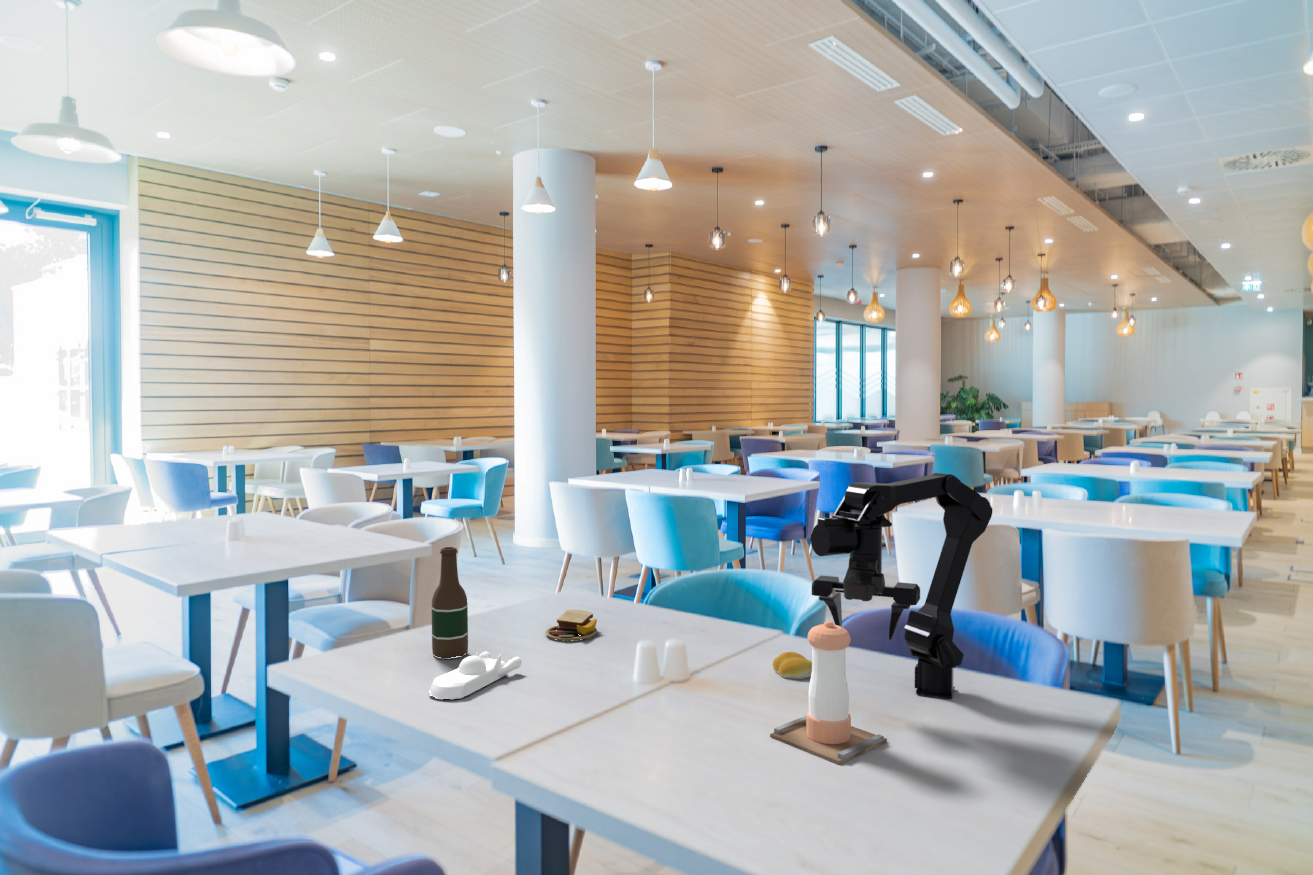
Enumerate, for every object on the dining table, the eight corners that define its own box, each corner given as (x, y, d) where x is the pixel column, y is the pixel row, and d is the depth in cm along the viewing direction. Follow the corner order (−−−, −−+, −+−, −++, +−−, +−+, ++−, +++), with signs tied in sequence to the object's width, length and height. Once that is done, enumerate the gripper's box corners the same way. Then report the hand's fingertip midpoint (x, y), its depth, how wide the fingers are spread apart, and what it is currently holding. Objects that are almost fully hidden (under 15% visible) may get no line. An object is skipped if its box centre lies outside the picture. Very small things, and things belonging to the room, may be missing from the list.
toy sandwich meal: (534, 639, 195) (534, 619, 195) (566, 625, 207) (566, 606, 207) (578, 646, 189) (578, 625, 189) (608, 631, 201) (608, 612, 201)
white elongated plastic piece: (415, 697, 157) (414, 667, 156) (482, 667, 174) (482, 640, 174) (457, 706, 152) (456, 675, 152) (522, 674, 170) (521, 646, 169)
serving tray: (818, 717, 145) (818, 710, 145) (887, 741, 134) (887, 734, 134) (770, 736, 137) (770, 729, 137) (838, 764, 126) (838, 756, 126)
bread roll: (786, 682, 164) (786, 662, 164) (767, 668, 173) (767, 650, 172) (823, 678, 166) (823, 658, 166) (802, 664, 175) (802, 646, 175)
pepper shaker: (852, 729, 138) (853, 617, 137) (848, 746, 131) (849, 629, 131) (809, 724, 140) (809, 614, 140) (803, 741, 134) (804, 625, 133)
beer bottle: (475, 652, 183) (474, 546, 182) (449, 662, 177) (448, 552, 176) (450, 647, 188) (449, 543, 187) (424, 656, 181) (423, 548, 180)
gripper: (803, 555, 146) (803, 641, 147) (912, 563, 138) (911, 655, 139) (819, 545, 156) (818, 626, 157) (921, 552, 148) (920, 638, 149)
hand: (864, 636), depth 150 cm, fingers open, 9 cm apart
